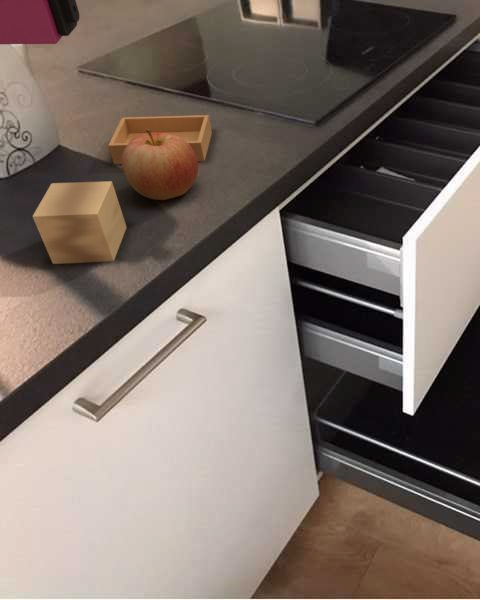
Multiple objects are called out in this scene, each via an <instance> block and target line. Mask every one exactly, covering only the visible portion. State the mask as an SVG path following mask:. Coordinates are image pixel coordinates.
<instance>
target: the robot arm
mask: <svg viewBox="0 0 480 600" xmlns="http://www.w3.org/2000/svg"><path fill="white" fill-rule="evenodd" d="M48 3H49V6H50V9H51V12H52V15H53V18H54V21H55V25H56V28H57V31H58V33H59V34H60V35H61V36H62V37H69V36H70V35H71V34H72V32H73V31H74V30H75V29H76V28H77V26H78V22H79V21H80V11H79V8H78V4H77V1H76V0H48Z"/></svg>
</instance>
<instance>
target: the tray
mask: <svg viewBox="0 0 480 600" xmlns="http://www.w3.org/2000/svg"><path fill="white" fill-rule="evenodd" d="M147 129H150V132H151V133H153V132H162V133H170V134H173V135H176V136H179V137H181V138H183V139H184V140H185V141H186V142H188V143H189V145H190V146H191V147H192V149H193V150H194V152H195V154H196V157H197V161H198V162H205V161H206V157H207V153H208V149H209V146H210V142H211V138H212V134H213V131H212V127H211V121H210V116H209V114H199V115H196V114H195V115H165V116H164V115H163V116H126V117H121V119H120V121H119V123H118V125H117V127H116V129H115V131H114V133H113V135H112V137H111V139H110V141H109V143H108V145H107V147H108V149H109V152H110V156H111V158H112V162H113V165H122V155H123V151H124V149H125V147H126V146H127V145H128V143H129V142H130V141H131V140H132V139H133V138H134V137H136V136H138V135H142V134H146V133H147V131H146V130H147Z"/></svg>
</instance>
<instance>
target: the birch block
mask: <svg viewBox="0 0 480 600" xmlns="http://www.w3.org/2000/svg"><path fill="white" fill-rule="evenodd" d="M32 219H33V221H34V223H35V227H36V228H37V231H38V233H39V235H40V237H41V238H40V239H41V240H42V242H43V244H44V247H45V249H46V251H47V254H48V257H49V259H50V261H51V263H52V264H53V265H59V264H61V265H62V264H82V263H102V262H103V263H104V262H105V263H106V262H107V263H108V262H115V259H116V257H117V254H118V251H119V249H120V247H121V244H122V241H123V238H124V235H125V233H126V230H127V223H126V221H125V217H124V215H123V212H122V208H121V205H120V202H119V199H118V196H117V193H116V189H115V187H114V184H113V181H111V180H110V181H109V180H108V181H107V180H106V181H82V182H81V181H79V182H76V181H75V182H52V183H50V185H49V187H48V188H47V190H46V192H45V194H44V195H43V197H42V199H41V201H40V203H39V204H38V206H37V207H36V209H35V211H34V213H33V214H32Z"/></svg>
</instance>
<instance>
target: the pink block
mask: <svg viewBox="0 0 480 600" xmlns="http://www.w3.org/2000/svg"><path fill="white" fill-rule="evenodd" d="M62 38H63V36H61V35H60V34H59V33H58V31H57V28H56V25H55V21H54V18H53V15H52V12H51V9H50V6H49V3H48V0H0V45H57V44H58V43H59V41H60V40H61V39H62Z"/></svg>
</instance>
